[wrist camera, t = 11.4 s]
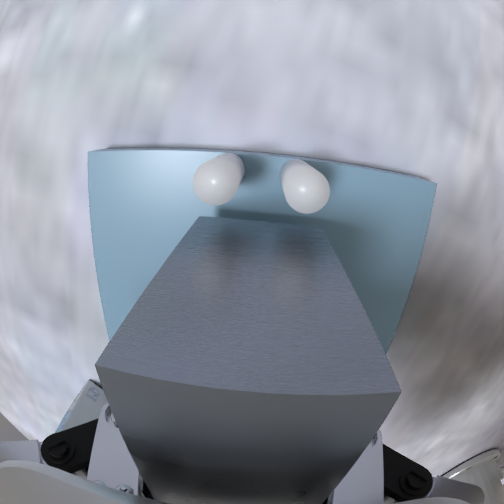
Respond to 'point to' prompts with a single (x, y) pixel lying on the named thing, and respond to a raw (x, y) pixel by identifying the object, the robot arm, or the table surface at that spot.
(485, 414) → the table surface
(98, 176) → the blue pegged plate
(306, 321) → the block
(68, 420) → the light bulb box
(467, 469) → the robot arm
